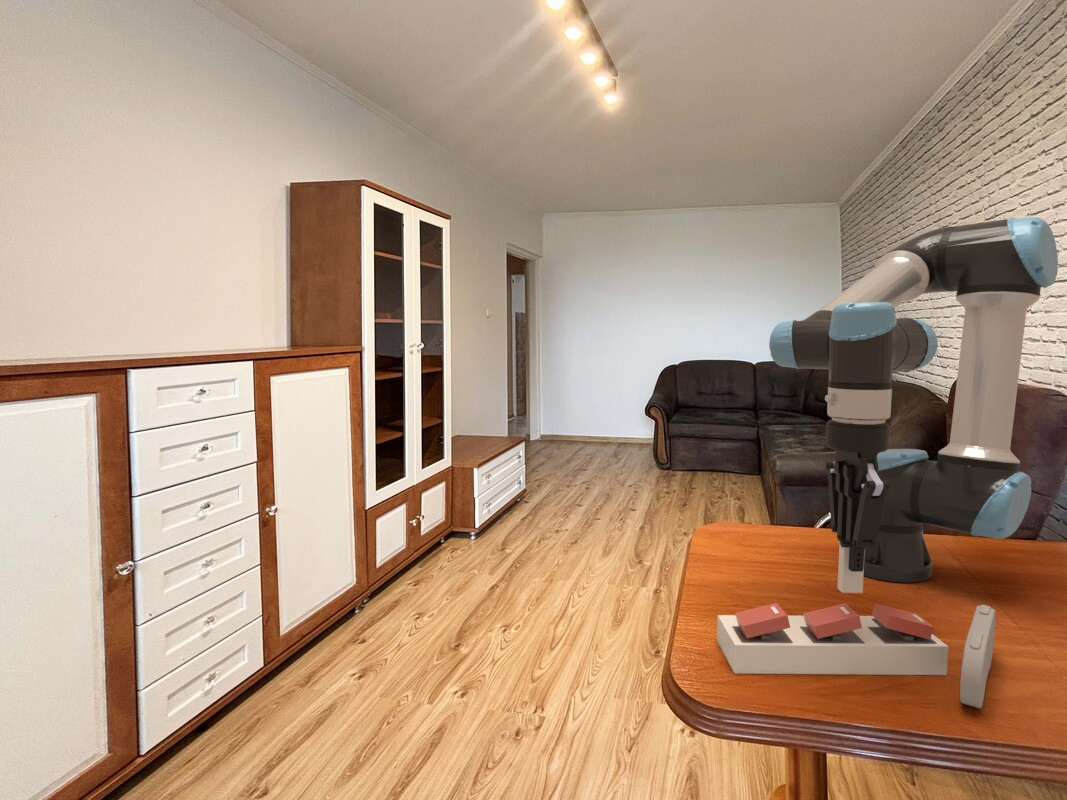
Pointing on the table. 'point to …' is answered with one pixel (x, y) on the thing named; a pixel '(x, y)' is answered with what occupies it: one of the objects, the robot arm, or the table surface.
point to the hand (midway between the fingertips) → (850, 590)
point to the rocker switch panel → (831, 650)
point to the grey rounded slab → (977, 656)
